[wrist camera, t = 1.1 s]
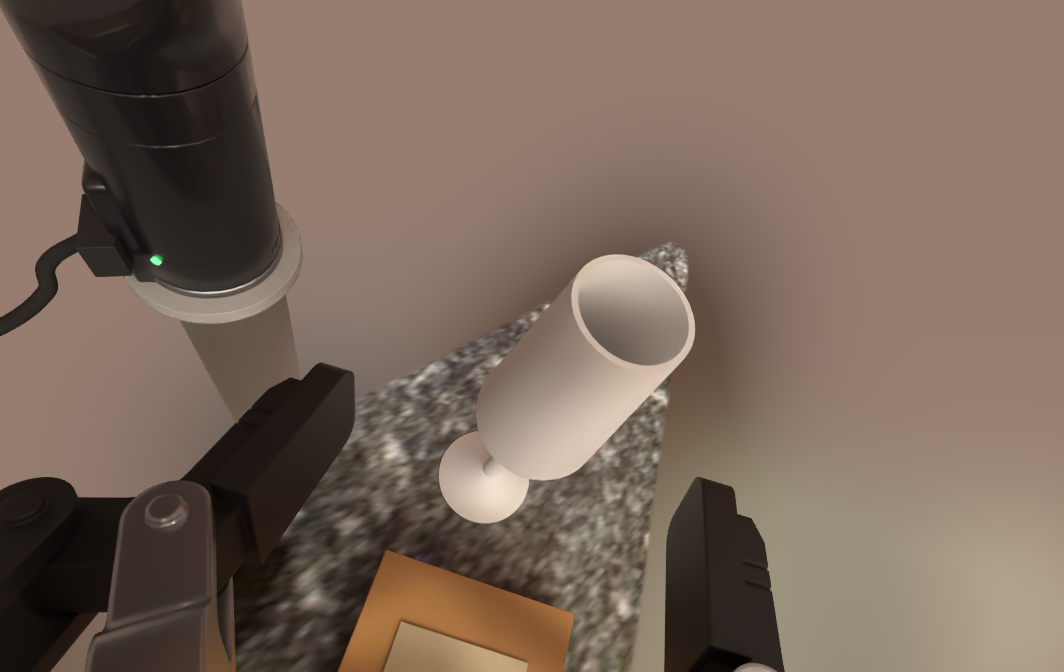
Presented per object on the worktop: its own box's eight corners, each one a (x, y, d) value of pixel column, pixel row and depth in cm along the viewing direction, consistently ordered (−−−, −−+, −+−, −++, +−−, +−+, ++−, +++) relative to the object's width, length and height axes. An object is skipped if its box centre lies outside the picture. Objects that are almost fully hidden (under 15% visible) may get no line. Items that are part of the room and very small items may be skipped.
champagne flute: (470, 413, 41) (593, 203, 21) (544, 462, 41) (740, 299, 21) (419, 489, 37) (506, 323, 17) (500, 543, 37) (685, 441, 17)
